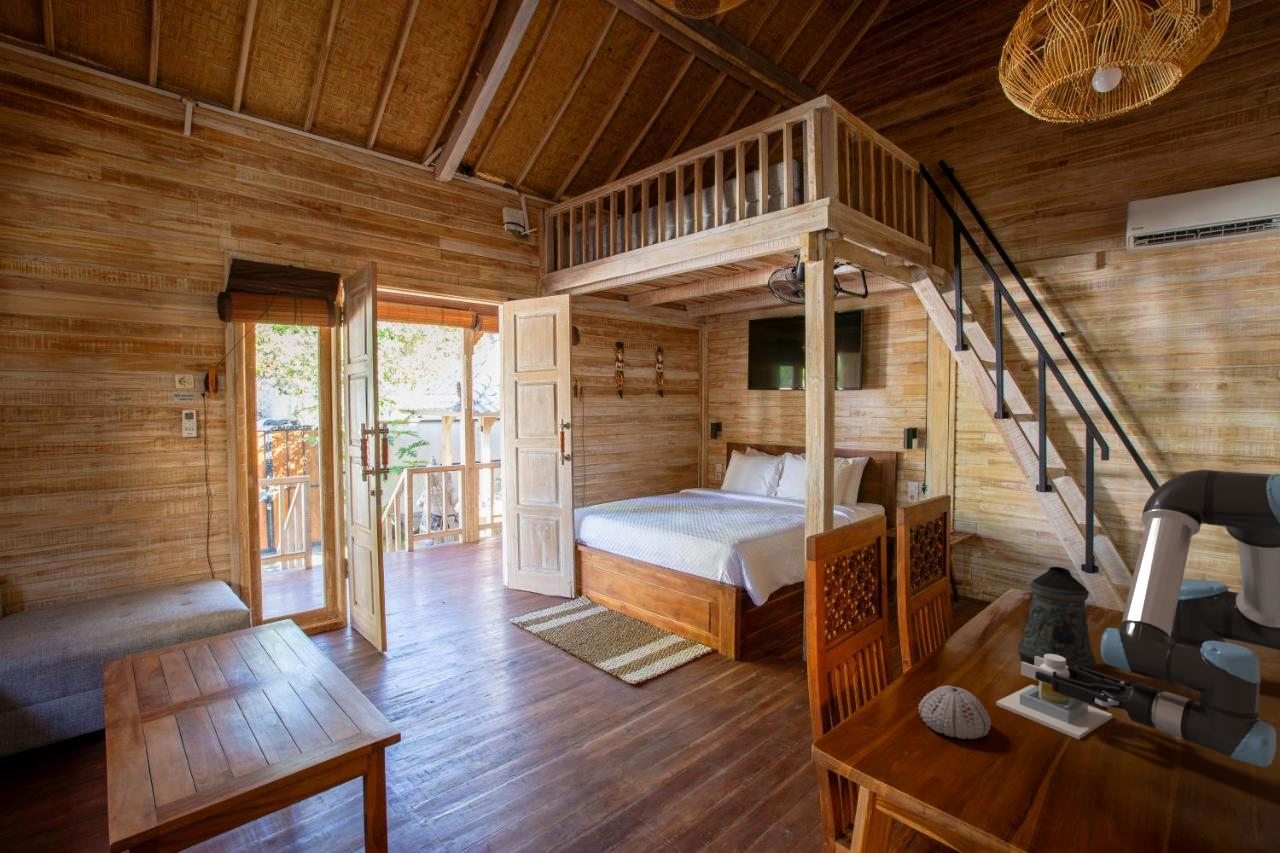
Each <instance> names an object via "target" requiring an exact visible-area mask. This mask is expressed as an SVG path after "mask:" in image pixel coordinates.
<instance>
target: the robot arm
mask: <svg viewBox="0 0 1280 853" xmlns="http://www.w3.org/2000/svg"><path fill="white" fill-rule="evenodd" d="M1141 522H1142V523H1143V525H1144V526H1145V527H1144V530H1143V535H1142V539H1141V543H1140V548H1139V551H1138V555H1137V559H1136V564H1135V568H1134V571H1133V576H1132V578H1131V583H1130V587H1129V591H1128V595H1127V599H1126V603H1125V608H1124V611H1123V615H1122V619H1121V625H1120V628H1118V627H1117V628H1113V627H1108V628H1106V629H1105V630H1104V632H1103V634H1102V636H1101V641H1100V655H1101V658H1102V660H1103V662H1104V664H1106V665H1109V666H1110V667H1114V668H1116V669H1119V670H1122V671H1125V672H1128V673H1129V674H1136V675H1140V676H1143V677H1147V678H1151V679H1154V680H1158V681H1162V682H1165V683H1169V684H1172V685H1176V686H1179V687H1181V688H1185V689H1189V690H1193V691H1195V692H1198V694H1199V697H1198V698H1199V700H1198V701H1197V700H1195V699H1191V698H1189V697H1186V696H1183V695H1180V694H1177V693H1174V692H1170V691H1166V690H1164V691H1161V689H1159V688H1156V687H1154V686H1151V685H1146V684H1144V683H1141V682H1138V683H1135V684H1133V682H1132V681H1129V680H1125V679H1121V678H1118V677H1115V676H1112V675H1109V674H1106V673H1103V672H1100V671H1096V670H1095V669H1094V670H1091V669H1088V668H1085V667H1082V666H1077V668H1075V667H1070V668H1069V667H1068V666H1066V667H1065V668H1066V669H1068V671H1069V673H1070V677H1069V678H1065V677H1061V676H1058V675H1057V672H1055V671H1053V672H1052V671H1049V670H1046V669H1043V668H1040V666H1041V665H1042V664H1043V663H1045V662H1044V658H1041V657H1038V656H1035V658H1034V665H1031V664H1028V663H1025V662H1021V661H1020V675H1022V676H1024V677H1027V678H1030V679H1032V680H1036V681H1037V682H1039V681H1041V682H1044V683H1046V684H1049V685H1052V691H1054V692H1057V693H1060V694H1063V695H1066V696H1068V697H1071V698H1074V699H1077V700H1080V701H1083V702H1085V703H1088V705H1090V706H1093V707H1095V708H1097V709H1100V710H1102V711H1108V707H1110V708H1113V709H1119V710H1120V709H1121V710H1124V711H1125V712H1126V713H1127V714H1128V715H1127V716H1128V718H1129V719H1130V720H1131V721H1132V722H1134V723H1138V724H1140V725H1143V726H1146V727H1148V728H1150V729H1154V728H1156V729H1157V730H1158V731H1159V732H1163V733H1165V734H1167V735H1168V734H1169V735H1170V736H1173V738H1174V739H1176V740H1185V741H1187V742H1189V743H1193V744H1194V745H1195V744H1196V745H1197V746H1198V745H1199V746H1200V747H1203V748H1206V749H1209V750H1211V751H1212V752H1213V751H1214V752H1217V753H1219V754H1221V755H1224V756H1226V757H1230V758H1231V759H1233V760H1238V761H1240V762H1244V763H1247V764H1249V765H1253V766H1257V767H1259V768H1260V767H1261V768H1266V767H1268V766H1270V765H1271V764H1272V762H1273V761H1274V759H1275V754H1276V751H1277V732H1276V729H1275V728H1274V726H1273V725H1271V724H1269V723H1266V722H1264V720H1260V715H1259V702H1260V685H1261V681H1262V680H1261V679H1262V678H1261V676H1260V673H1261V672H1260V667H1261V666H1260V658H1259V656H1258V655H1257V654H1256V652H1254V651H1252V650H1251V649H1250V648H1247V647H1244V646H1242V645H1238V644H1235V643H1231V642H1226V640H1230V641H1235V642H1238V643H1243V644H1247V645H1252V646H1256V647H1260V648H1264V649H1268V650H1272V651H1277V652H1280V473H1274V474H1273V473H1257V472H1256V473H1255V472H1241V471H1240V472H1237V471H1225V470H1224V471H1222V470H1212V469H1196V470H1190V471H1185V472H1183V473H1180V474H1178V475H1176V476H1174V477H1172V478H1170V479H1168V480H1167V481H1165V482H1164V483H1162V484H1161V485H1160V486H1159V487H1157V489H1155V490H1154V492H1153V493H1151V495H1150V497H1148V500H1147V501H1146V503H1145V504H1144V507H1143V511H1142V515H1141ZM1202 525H1209V526H1215V527H1216V526H1218V527H1225V528H1226V531H1227V533H1228V535H1230V536H1231V537H1232V539H1235V541H1237V547H1238V556H1239V564H1240V565H1239V566H1240V574H1241V580H1242V589H1241V590H1239V592H1235V591H1232V590H1229V587H1228V585H1227V584H1225V583H1224V582H1219V581H1215V580H1206V579H1197V578H1196V579H1193V578H1192V579H1191V578H1188V579H1187V578H1184V574H1185V570H1186V566H1187V565H1186V564H1187V561H1188V560H1187V559H1188V555H1189V552H1190V546H1191V542H1192V536H1194V535H1197V534H1198V533H1199V532H1200V530H1201V526H1202ZM1183 578H1184V579H1183Z"/></svg>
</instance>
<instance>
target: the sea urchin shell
mask: <svg viewBox="0 0 1280 853" xmlns="http://www.w3.org/2000/svg"><path fill="white" fill-rule="evenodd" d="M917 709H918V714H919V717H920V718H922V722H924V723H925V725H926V726H927V727H929V728H930V729H931V730H933V731H935V732H936V733H938V734H944V735H945V736H946V737H951V738H954V737H955V738H958V739H962V740H966V739H968V740H974V739H978V738H980V739H981V738H983V737H985V736H987V734H989V733H990V732H989V731H990V730H991V725H992V722H991V720H992V719H991V717H990V714H989V713H988V710H987V709H986V707H985V706H984V704H983V703H981V700H979V699H978V697H977V696H974V694H973V693H971V692H970V691H968V690H966V689H964V688H962V687H958V686H957V687H956V686H953V685H942V686H938V687H936V688H935V689H933V690H931V691H930V692H927V693H926V695H925V696H923V698H922V699H920V703H918V707H917Z"/></svg>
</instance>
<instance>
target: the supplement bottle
mask: <svg viewBox="0 0 1280 853" xmlns="http://www.w3.org/2000/svg"><path fill="white" fill-rule="evenodd" d="M1044 662H1045V663H1043V664H1042V665H1041V666H1040V668H1043V669H1046V670H1049V671H1052V672H1053V671H1055V672H1057V675H1058V676H1061V677H1065V678H1069V677H1070V673H1069V671H1068V669H1066V668H1065V667H1066V659H1065V658H1064V657H1061V656H1059V655H1055V654H1045V655H1044ZM1038 682H1039V683H1038V685H1039V698H1040V699H1041V700H1042V701H1045V702H1047V703H1050V704H1052V705H1055V706H1067V705H1068V704H1069V697H1068V696H1066V695H1063V694H1060V693H1057V692H1054V691H1052V685H1049V684H1046V683H1044V682H1041V681H1038Z"/></svg>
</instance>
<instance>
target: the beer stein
mask: <svg viewBox="0 0 1280 853" xmlns="http://www.w3.org/2000/svg"><path fill="white" fill-rule="evenodd" d="M1029 585H1030V589H1031V592H1032V598H1031V601H1030V602H1031V603H1030V606H1029V611H1028V615H1027V620H1026V623H1025V627H1024V631H1023V633H1022V635H1021V636H1022V637H1021V638H1020V640H1019V642H1018V644H1017V651H1018V655H1019V659H1020V662H1021V661H1022V662H1025V663H1028V664H1031V665H1034V658H1035V656H1038V657H1041V658H1044V655H1045V654H1055V655H1059V656H1061V657H1064V658H1065V659H1066V666H1068V667H1069V668H1070V667H1075V668H1077V666H1082V667H1085V668H1088V669H1091V670H1094V671H1095V667H1096V666H1097V661H1096V660H1097V659H1096V658H1095V655H1094V654H1093V649H1092V647H1091V640H1090V631H1089V626H1088V617H1087V611H1086V610H1087V609H1086V601H1087V600H1088V597H1089V594H1090V592H1089V591H1088V589H1087V587H1086V586H1084V585H1083V584H1082V583H1081V582H1080V581H1079V580H1077V579H1076V578H1075V577H1074V576H1073V575H1072V573H1071V572H1070V570H1069V569H1068V568H1065V567H1061V566H1051V567H1049V568H1048V570H1047V571H1046V572H1044V573H1042V574H1041V575H1039V576H1037V577H1036V578H1034V579H1033V580H1032V581H1031V582H1030V584H1029Z"/></svg>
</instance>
